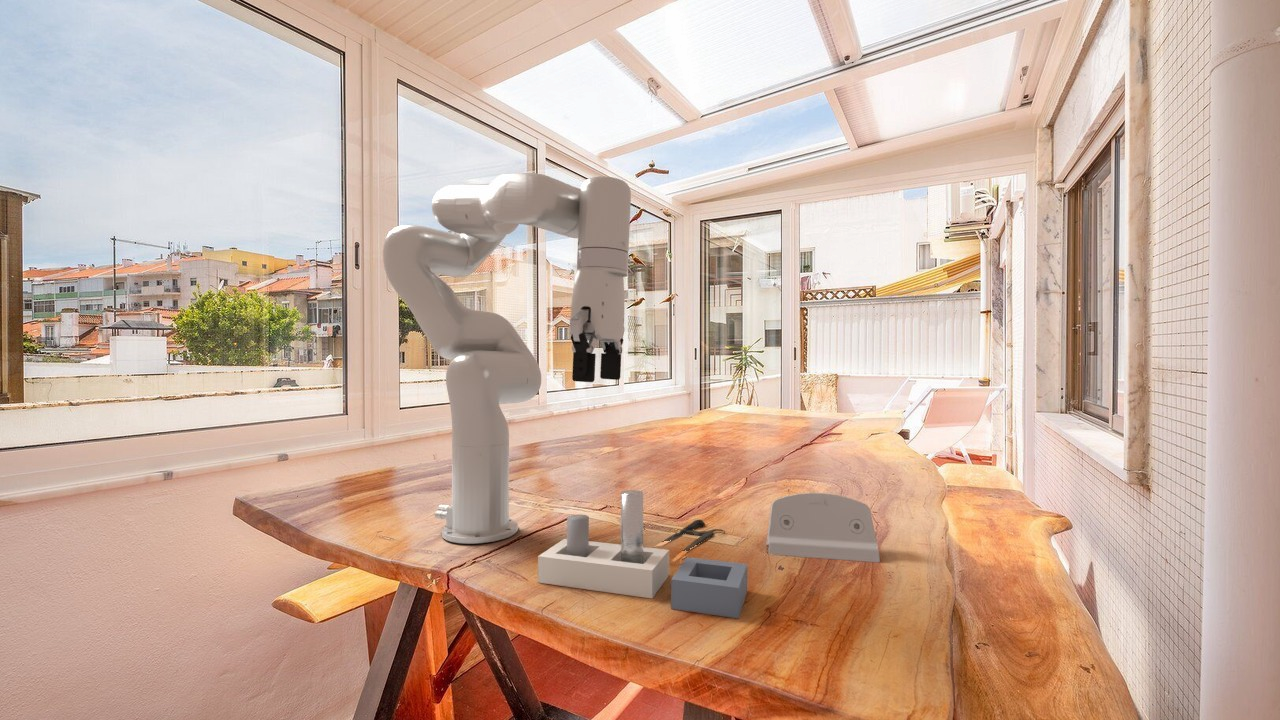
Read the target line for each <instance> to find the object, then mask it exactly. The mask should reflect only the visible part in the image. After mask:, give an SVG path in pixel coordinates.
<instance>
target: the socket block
mask: <svg viewBox="0 0 1280 720" xmlns="http://www.w3.org/2000/svg"><path fill="white" fill-rule="evenodd" d="M683 560H684V561H683V562H681V563H682V564H680V566H679V568H678V569H677V570H676V572H675V573H674V575H673V576H672V578H671V579H670V585H671V586H670V588H671V589H670V590H671V591H670V592H671V593H670V594H671V595H670V596H671V597H670V598H671V599H670V604H671V606H670V607H671V610H677V611H683V612H684V611H685V612H692V613H699V614H706V615H713V616H719V617H725V618H733V619H739V618H740V616H741V612H742V610H743V606H744V603H745V600H746V597H747V594H748V563H741V562H736V561H735V562H734V561H723V560H715V559H705V558H698V557H697V558H696V557H690V556H686V558H684V559H683Z"/></svg>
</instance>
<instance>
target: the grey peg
mask: <svg viewBox="0 0 1280 720" xmlns="http://www.w3.org/2000/svg"><path fill="white" fill-rule="evenodd" d="M620 545H621V561H622V562H630V563H638V564H643V547H644V492H643V491H641V490H634V489H631V490H630V489H629V490H624V491H621V492H620Z"/></svg>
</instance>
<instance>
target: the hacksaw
mask: <svg viewBox="0 0 1280 720" xmlns="http://www.w3.org/2000/svg"><path fill="white" fill-rule="evenodd" d="M705 525H706V523H705V521H704V520H702V519H695V520H694V521H692V522H691V523H690V524H688V525H686V526H685V527H683V528H682V529H680V531H679V532H675V533H674V534H672V535H670V536H669V537H667V538H665V539H664V541H670V540H671V542H673V541H675V540H676V539H678V538H680V537H682V536H683V535H691V536H692V534H694V535H693V536H699V537H698V538H696V539H695V540H694V541H693V542H691V543H690V544H688V545H687V546H686V547H685V548H683V549H684V550H683V549H682V550H681V551H685V550H686V551H689V550H690V548H692V547H694V546H695V545H698V544H699V543H701V542H703V541H704V540H706V539H707V538H709V537H710V538H712V537H713V536H714V532H723V533H721V534H719V536H721V535H725V534H726V531H725V530H723V529H721V528H720V529H719V528H714V529H711V530H701V531H700V530H697V529H699V528H698V527H700V528H704V527H705ZM703 526H704V527H703ZM693 529H694V530H693ZM696 530H697V531H696ZM683 533H684V534H683ZM685 533H686V534H685ZM681 535H682V536H681ZM679 536H680V537H679ZM677 537H678V538H677ZM710 538H709V539H710ZM674 539H675V540H674ZM672 540H673V541H672ZM707 540H708V539H707ZM664 541H663V540H662V541H661V542H664ZM704 542H705V541H704ZM704 542H703V543H704ZM701 544H702V543H701ZM698 546H699V545H698ZM689 552H690V551H689Z"/></svg>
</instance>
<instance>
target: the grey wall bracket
mask: <svg viewBox="0 0 1280 720" xmlns="http://www.w3.org/2000/svg"><path fill="white" fill-rule="evenodd" d="M876 535H877V534H876V531H875V527H874V522H873V516H872V513H871V508H870V507H869V505H867V504H865V503H863V502H861V501H858V500H856V499H853V498H851V497H847V496H843V495H839V494H833V493H828V492H827V493H824V492H804V493H801V492H800V493H796V494H795V493H794V494H790V495H785V496H782V497H779V498H776V499H774V500H773V501H772V503H771V505H770V511H769V521H768V529H767V536H766V544H765V545H766V546H768V555H769V554H774V555H773V556H781V555H783V556H784V557H795V556H796V557H798V558H808V559H809V558H811V559H824V560H825V559H826V560H827V559H828V560H840V561H852V562H853V561H854V562H865V563H866V562H868V563H869V562H870V563H881V562H880V561H881V558H880V551H879V547H878V541H877V536H876ZM785 555H787V556H785Z"/></svg>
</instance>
